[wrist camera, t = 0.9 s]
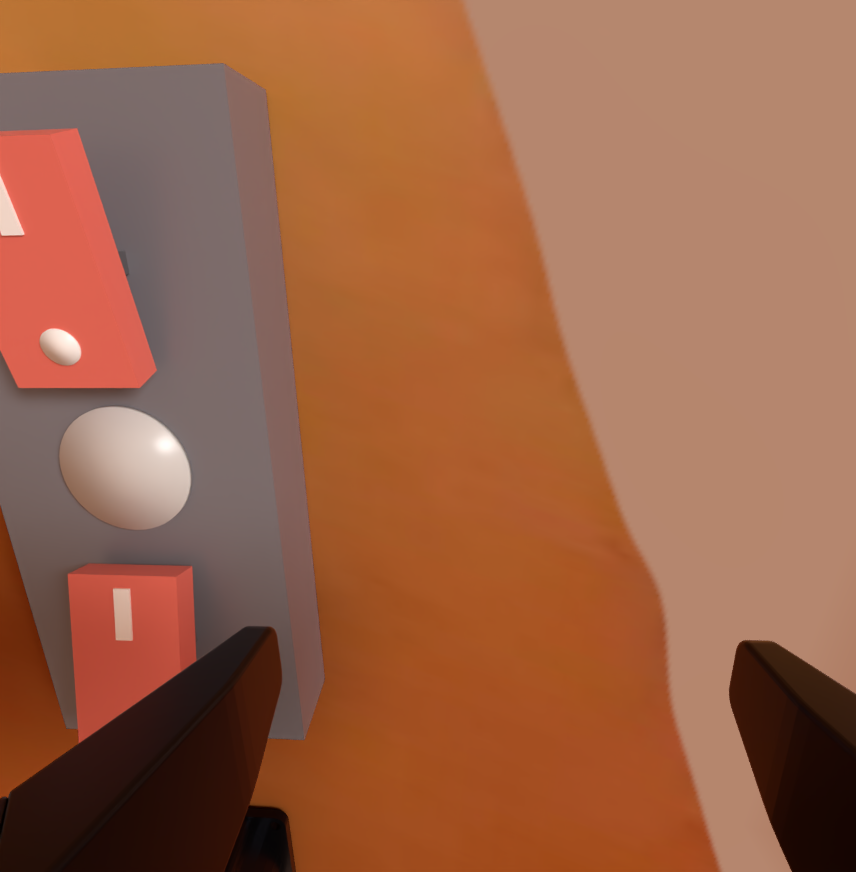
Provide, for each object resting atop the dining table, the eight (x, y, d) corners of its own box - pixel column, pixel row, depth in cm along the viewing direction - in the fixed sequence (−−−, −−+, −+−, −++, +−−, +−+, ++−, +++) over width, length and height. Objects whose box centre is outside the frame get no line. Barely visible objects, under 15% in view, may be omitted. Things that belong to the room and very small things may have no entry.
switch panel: (332, 753, 25) (309, 835, 22) (131, 743, 26) (79, 821, 23) (265, 89, 17) (212, 56, 13) (-29, 101, 18) (-150, 73, 14)
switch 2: (199, 746, 19) (183, 767, 18) (100, 741, 19) (78, 762, 18) (192, 566, 19) (174, 577, 17) (89, 563, 19) (66, 574, 18)
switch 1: (156, 370, 16) (138, 389, 16) (41, 370, 17) (16, 389, 16) (77, 128, 13) (48, 134, 12) (-66, 133, 13) (-105, 140, 12)
